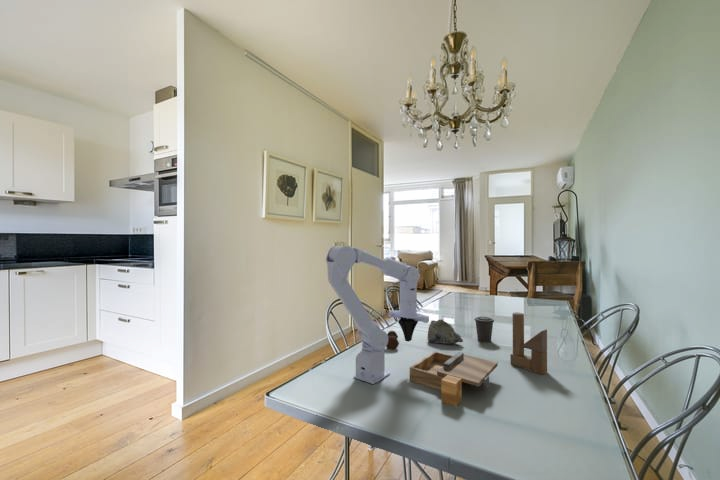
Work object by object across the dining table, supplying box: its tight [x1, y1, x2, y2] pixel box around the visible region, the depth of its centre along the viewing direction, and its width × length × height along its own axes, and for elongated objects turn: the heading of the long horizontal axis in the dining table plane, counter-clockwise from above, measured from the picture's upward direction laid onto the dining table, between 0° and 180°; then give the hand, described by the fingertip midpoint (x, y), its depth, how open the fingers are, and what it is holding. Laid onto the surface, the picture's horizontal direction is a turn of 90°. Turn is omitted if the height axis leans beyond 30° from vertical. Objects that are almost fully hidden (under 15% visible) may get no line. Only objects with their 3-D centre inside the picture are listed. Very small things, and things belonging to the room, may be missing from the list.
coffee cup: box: [474, 316, 495, 343], centre depth 135 cm, size 8×8×10 cm
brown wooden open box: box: [409, 351, 454, 391], centre depth 100 cm, size 18×12×4 cm, turn 141°
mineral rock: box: [427, 319, 464, 345], centre depth 132 cm, size 13×11×10 cm
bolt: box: [385, 330, 400, 350], centre depth 132 cm, size 6×5×15 cm
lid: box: [437, 351, 498, 391], centre depth 94 cm, size 18×13×5 cm
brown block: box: [440, 375, 463, 407], centre depth 84 cm, size 4×4×6 cm
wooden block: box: [510, 311, 548, 376], centre depth 106 cm, size 4×11×18 cm, turn 34°
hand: (408, 340), depth 106 cm, fingers closed
